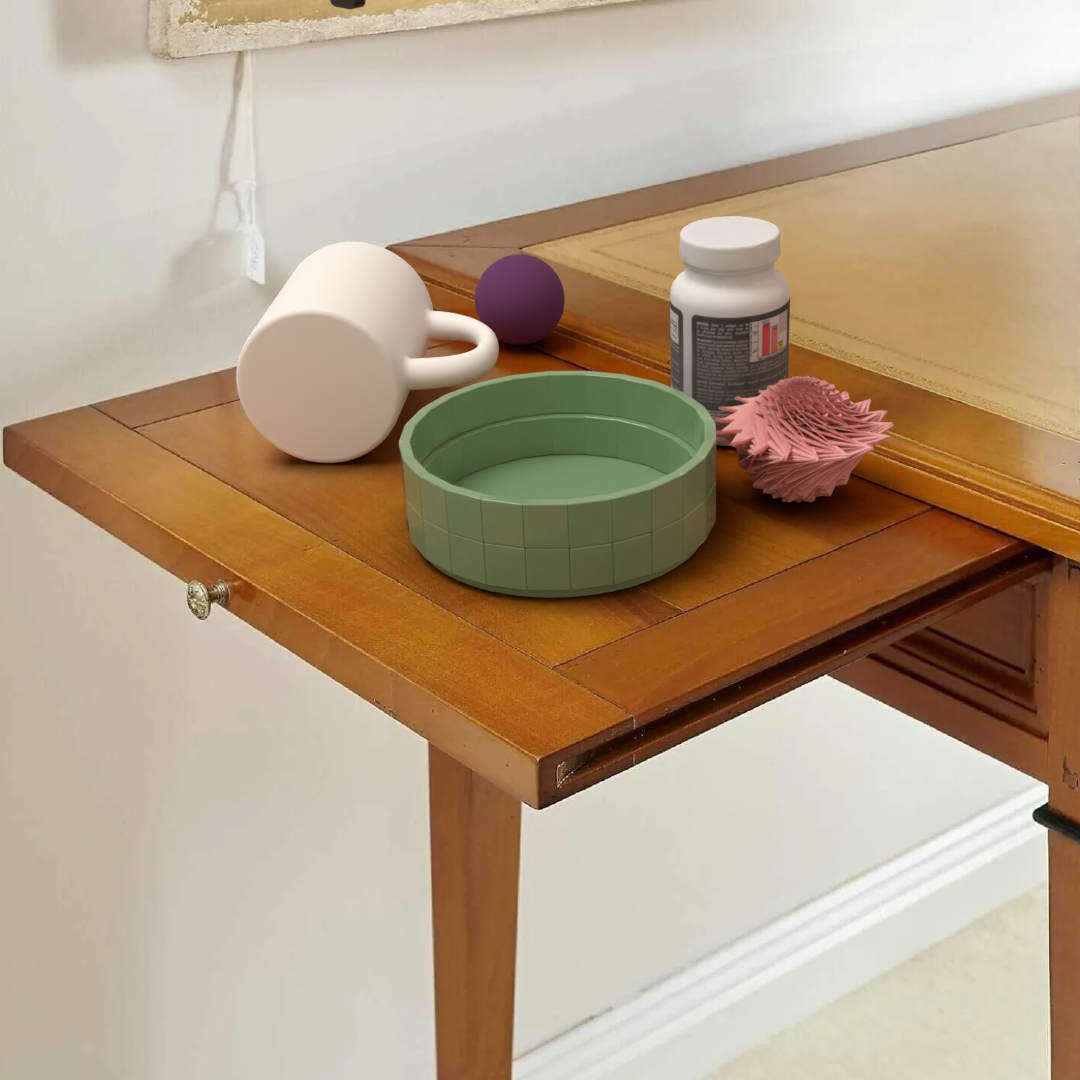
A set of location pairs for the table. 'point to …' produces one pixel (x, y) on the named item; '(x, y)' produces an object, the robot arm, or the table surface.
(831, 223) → the table surface
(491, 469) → the bowl
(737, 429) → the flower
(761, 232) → the pill bottle
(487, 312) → the ball
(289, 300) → the mug
